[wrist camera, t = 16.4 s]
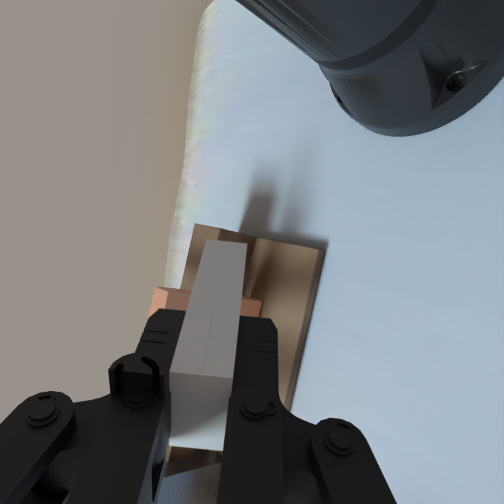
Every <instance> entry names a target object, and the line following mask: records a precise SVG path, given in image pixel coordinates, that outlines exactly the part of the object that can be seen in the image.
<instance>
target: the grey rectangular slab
mask: <svg viewBox="0 0 504 504" xmlns="http://www.w3.org/2000/svg"><path fill="white" fill-rule="evenodd" d="M221 462H222V457H221V456H220V455H218V454H217V453H216V452H214V451H211V452H207V453H203V454H198V455H194V456H190V457H186V458H182V459H177V460H173V461H169V462H166V465H165V470H164V475H163V479H162V484H161V488H160V492H159V497H158V501H157V504H217V497H218V489H219V480H220V471H221Z"/></svg>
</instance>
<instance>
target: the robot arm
mask: <svg viewBox="0 0 504 504" xmlns="http://www.w3.org/2000/svg"><path fill="white" fill-rule="evenodd" d="M236 1H237V2H239V3H240V4H241V5H243V6H244V7H245V8H247V9H248V10H249V11H250V12H252V13H253V14H254V15H256V16H257V17H258V18H260V19H261V20H262V21H264V22H265V23H266V24H268V25H269V26H270V27H271V28H273V29H274V30H275V31H277V32H278V33H279V34H280V35H282V36H283V37H284V38H286V39H287V40H288V41H290V42H291V43H292V44H293V45H295V46H296V47H297V48H299V49H300V50H301V51H303V52H304V53H305V54H306V55H308V56H309V57H310V58H312V59H313V60H314V61H315V62H317V63H318V64H319V67H320V68H321V70H322V72H323V74H324V76H325V77H326V79H327V80H328V81H329V82H330V86H331V89H332V92H333V94H334V97H335V98H336V100H337V102H338V104H339V105H340V107H341V108H342V109H343V110H344V111H345V112H346V113H347V114H348V115H349V116H350V117H351V118H352V119H354V120H355V121H357V122H358V123H359V124H361V125H362V126H364V127H365V128H367V129H369V130H371V131H373V132H375V133H378V134H382V135H386V136H397V137H402V136H412V135H417V134H422V133H425V132H429V131H431V130H434V129H437V128H439V127H441V126H444V125H446V124H448V123H450V122H451V121H453V120H455V119H457V118H458V117H460V116H461V115H463V114H464V113H466V112H467V111H469V110H470V109H471V108H473V107H474V106H475V105H476V104H477V103H479V102H480V101H481V100H482V99H483V98H484V97H485V96H486V95H487V94H488V93H489V92H490V91H491V90H492V89H493V88H494V87H495V85H496V84H497V83H498V82H499V81H500V79H501V78H502V77H503V75H504V0H236ZM246 251H247V243H238V242H228V241H219V240H209V239H207V240H206V243H205V247H204V250H203V254H202V257H201V261H200V265H199V268H198V272H197V275H196V279H195V282H194V286H193V289H192V293H191V297H190V300H189V304H188V307H187V311H182V310H173V309H163V308H159V309H158V310H157V311H156V312H155V313H153V314H152V315H151V316H150V317H149V318H148V321H147V323H146V326H145V328H144V332H143V333H142V336H141V339H140V342H139V344H138V346H137V349H136V351H135V353H132V354H128V355H125V356H122V357H121V358H119V359H118V360H116V361H115V362H113V364H112V365H111V367H110V368H109V370H108V373H109V383H110V394H108V395H106V396H104V397H101V398H97V399H93V400H88V401H82V402H76V403H73V402H72V400H71V398H70V397H69V396H67V395H65V394H64V393H62V392H55V391H48V392H42V393H38V394H36V395H33V396H31V397H29V398H27V399H26V400H25V401H23V402H22V403H21V404H19V405H18V406H17V407H16V408H15V409H14V410H13V411H12V413H11V414H10V415H9V416H8V417H7V418H6V419H5V420H4V421H3V422H2V423H1V424H0V504H157V501H158V497H159V492H160V488H161V484H162V479H163V475H164V470H165V465H166V449H167V445H168V441H169V446H178V447H188V448H198V449H208V450H218V451H223V454H222V462H221V471H220V480H219V489H218V497H217V504H397V503H396V501H395V499H394V497H393V495H392V493H391V490H390V488H389V486H388V484H387V482H386V480H385V478H384V476H383V474H382V471H381V469H380V467H379V465H378V463H377V461H376V459H375V457H374V455H373V452H372V450H371V448H370V446H369V444H368V442H367V440H366V438H365V437H364V435H363V434H362V432H361V431H360V430H359V429H358V428H357V427H355V426H354V425H353V424H352V423H350V422H347V421H345V420H342V419H337V418H328V419H325V420H321V421H320V422H319V423H317V424H316V425H314V424H312V423H309V422H307V421H304V420H302V419H300V418H298V417H296V416H294V415H293V414H292V413H290V412H289V411H288V410H287V409H286V408H285V407H284V405H283V404H282V402H281V400H280V396H279V376H278V330H277V328H276V326H275V324H274V323H273V321H272V319H270V318H261V317H251V316H241V315H240V309H241V299H242V290H243V280H244V270H245V261H246Z"/></svg>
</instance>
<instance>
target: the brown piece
mask: <svg viewBox="0 0 504 504" xmlns="http://www.w3.org/2000/svg"><path fill="white" fill-rule="evenodd" d="M207 239H209V240H219V241H228V242H238V243H247V251H246V261H245V270H244V280H243V290H242V296H249V297H251V298H254V299H257V300H260V301H262V303H261V308H260V312H259V317H261V318H270V319H272V321H273V323H274V324H275V326H276V328H277V330H278V376H279V396H280V400H281V402H282V404H283V405H284V407H285V408H286V409H287V410H288V411H289V410H290V405H291V401H292V396H293V392H294V388H295V383H296V379H297V374H298V370H299V365H300V361H301V357H302V352H303V348H304V343H305V339H306V334H307V330H308V325H309V321H310V317H311V312H312V308H313V303H314V299H315V294H316V290H317V285H318V281H319V277H320V272H321V268H322V263H323V259H324V254H325V251H322V250H318V249H313V248H308V247H303V246H298V245H293V244H288V243H283V242H278V241H273V240H268V239H263V238H258V237H253V236H249V235H245V234H241V233H237V232H233V231H229V230H225V229H221V228H216V227H211V226H206V225H201V224H196V223H195V225H194V230H193V234H192V239H191V243H190V248H189V252H188V257H187V261H186V266H185V270H184V275H183V279H182V284H181V288H180V289H183V290H192V289H193V286H194V282H195V279H196V275H197V272H198V268H199V265H200V261H201V257H202V254H203V250H204V247H205V243H206V240H207ZM211 451H214V452H216V453H217V454H218V455H220V456H221V457H222V454H223V451H218V450H208V449H198V448H188V447H178V446H169V441H168V445H167V449H166V462H169V461H173V460H177V459H182V458H186V457H190V456H194V455H198V454H203V453H207V452H211Z"/></svg>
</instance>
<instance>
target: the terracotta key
mask: <svg viewBox="0 0 504 504" xmlns="http://www.w3.org/2000/svg"><path fill="white" fill-rule="evenodd" d="M191 293H192V290H183V289H174V288H164V287H155V288H154V293H153V297H152V302H151V307H150V311H149V315H148V318H149V317H150V316H151V315H152V314H153V313H155V312H156V311H157V310H158V309H159V308H163V309H173V310H182V311H187V307H188V304H189V300H190V297H191ZM261 303H262V301H260V300H257V299H254V298H251V297H249V296H242V299H241V309H240V315H241V316H251V317H259V312H260V308H261Z"/></svg>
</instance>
